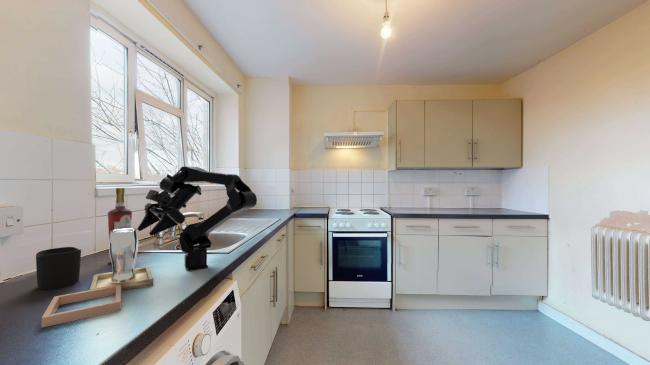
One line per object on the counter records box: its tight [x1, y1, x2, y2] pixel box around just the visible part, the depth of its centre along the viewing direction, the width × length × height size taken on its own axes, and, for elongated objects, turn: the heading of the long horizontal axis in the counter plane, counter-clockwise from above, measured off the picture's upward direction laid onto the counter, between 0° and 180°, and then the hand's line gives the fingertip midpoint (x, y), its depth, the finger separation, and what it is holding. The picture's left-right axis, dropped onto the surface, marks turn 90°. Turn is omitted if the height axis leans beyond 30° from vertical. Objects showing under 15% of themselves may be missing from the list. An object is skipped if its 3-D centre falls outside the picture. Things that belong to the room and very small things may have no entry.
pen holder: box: [35, 246, 82, 291], centre depth 78 cm, size 9×9×10 cm
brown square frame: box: [41, 285, 122, 329], centre depth 64 cm, size 13×13×2 cm
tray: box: [89, 266, 154, 292], centre depth 79 cm, size 14×14×2 cm
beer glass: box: [108, 228, 139, 284], centre depth 80 cm, size 7×7×15 cm
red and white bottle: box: [107, 187, 133, 264], centre depth 101 cm, size 7×7×28 cm
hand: (144, 232), depth 87 cm, fingers open, 9 cm apart
